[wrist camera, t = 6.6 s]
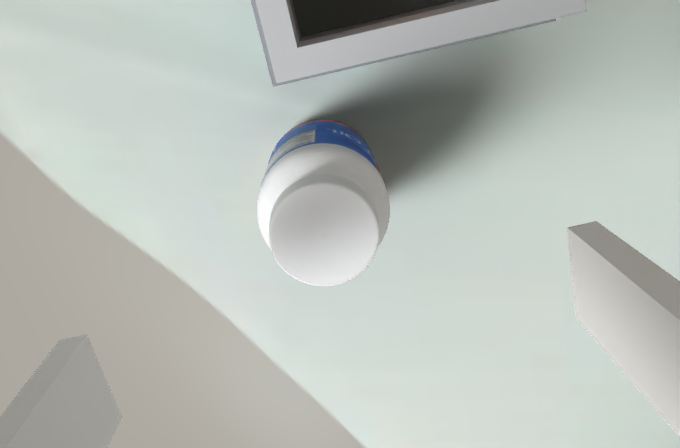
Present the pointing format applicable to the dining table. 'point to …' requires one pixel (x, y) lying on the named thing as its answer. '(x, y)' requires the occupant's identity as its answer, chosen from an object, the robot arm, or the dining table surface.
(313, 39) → the grey compartment organizer
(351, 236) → the pill bottle
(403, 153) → the dining table surface
